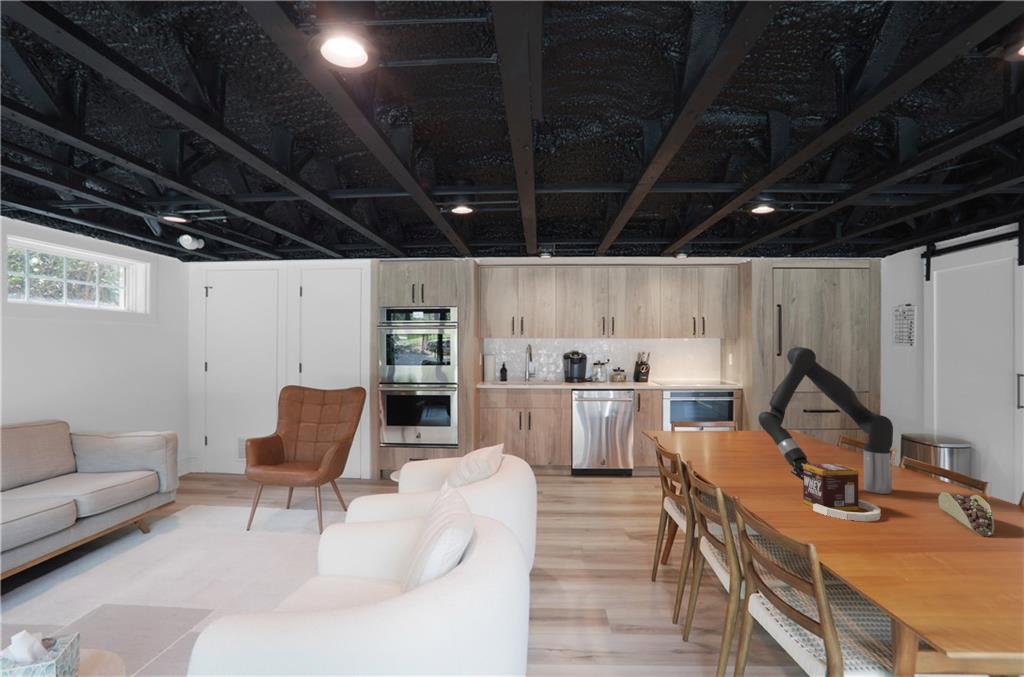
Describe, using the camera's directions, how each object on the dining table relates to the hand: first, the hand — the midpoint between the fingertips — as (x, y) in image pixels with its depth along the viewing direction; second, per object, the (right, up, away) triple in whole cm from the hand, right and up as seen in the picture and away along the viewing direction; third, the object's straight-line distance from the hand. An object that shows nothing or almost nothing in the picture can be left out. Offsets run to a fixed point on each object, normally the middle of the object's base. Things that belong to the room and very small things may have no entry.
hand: (817, 488), depth 189 cm
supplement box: (+1, -5, -6) cm, 8 cm away
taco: (+38, -5, -22) cm, 44 cm away
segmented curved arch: (+4, -5, -14) cm, 15 cm away
